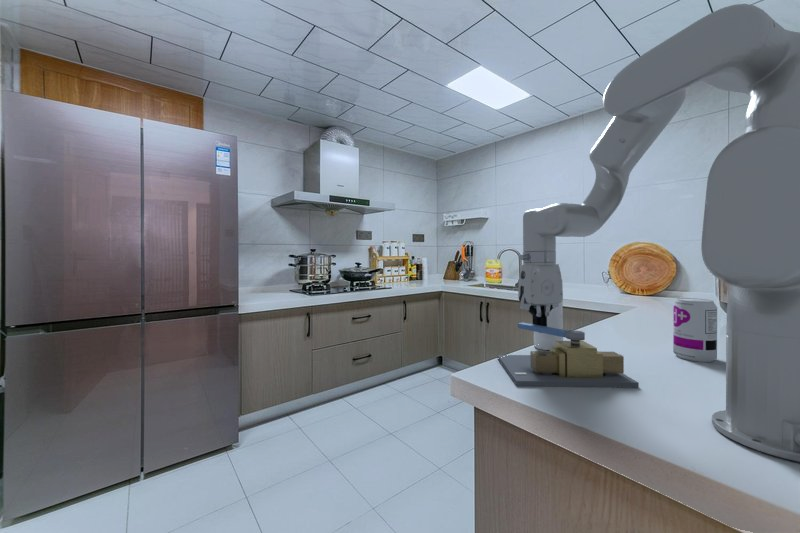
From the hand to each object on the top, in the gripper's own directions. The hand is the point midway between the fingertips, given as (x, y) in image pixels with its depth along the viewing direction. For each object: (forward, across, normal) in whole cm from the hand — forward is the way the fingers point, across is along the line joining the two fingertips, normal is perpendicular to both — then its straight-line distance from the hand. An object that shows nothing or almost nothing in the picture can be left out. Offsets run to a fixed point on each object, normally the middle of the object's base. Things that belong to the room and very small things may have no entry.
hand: (539, 331), depth 80 cm
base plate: (+8, 0, -6) cm, 10 cm away
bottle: (+8, +12, +10) cm, 18 cm away
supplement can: (+8, +39, -10) cm, 41 cm away
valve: (+8, 0, -11) cm, 13 cm away
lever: (-1, -2, -5) cm, 5 cm away
